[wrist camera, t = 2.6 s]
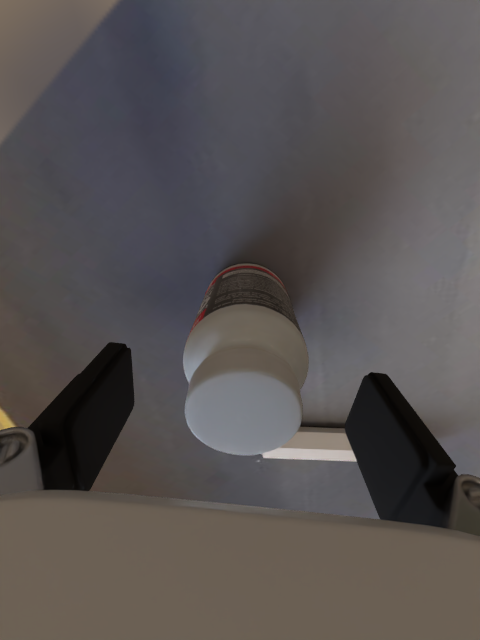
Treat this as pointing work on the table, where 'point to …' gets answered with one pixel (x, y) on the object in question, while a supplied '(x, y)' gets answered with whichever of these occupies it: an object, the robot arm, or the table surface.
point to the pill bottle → (245, 364)
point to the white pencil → (315, 445)
